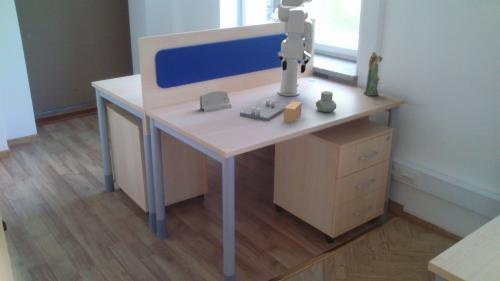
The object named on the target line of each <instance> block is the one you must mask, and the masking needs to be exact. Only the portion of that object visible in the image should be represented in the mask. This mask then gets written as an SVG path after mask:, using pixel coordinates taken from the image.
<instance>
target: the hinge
mask: <svg viewBox="0 0 500 281" xmlns="http://www.w3.org/2000/svg"><path fill="white" fill-rule="evenodd" d="M228 94H229V93H228V92H227V91H223V90H212V91H207V92H205V93H203V94H201V95H200V96H199V108H200V110H203V111H204V112H205V113H206V112H212V111H218V110H223V109H230V108H232V103H231V102H230V98H229V95H228Z"/></svg>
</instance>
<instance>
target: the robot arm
mask: <svg viewBox="0 0 500 281" xmlns="http://www.w3.org/2000/svg"><path fill="white" fill-rule="evenodd" d="M312 1H313V0H280V1H279V4H278V7H277V18H278V21H279V22H280V23H284V24H283V25H284V26H283V27H284V29H283V30H284V34H285V36H286V38H285V39H284V40H282V42H281V44H280V51H278V52H277V56H278V57H279V59H280V61H281V71H280V75H281V76H280V89H278V90H277V94H278V95H280V96H284V97H295V96H298V95H300V91H299V90H298V87H299V84H298V76H299V62H300V63H301V65H300V73H301V74H303V73H305V71H306V65H307V64H308V63H309V62H310V60H311V58H312V53H313V52H312V51H313V37H314V35H313V34H314V24H313V22H312V20H310V19H308V16H309V14H308V13H309V12H308V10H307V8H305V7H302V5H303V3H308V4H309V3H311V2H312ZM298 61H299V62H298Z"/></svg>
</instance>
